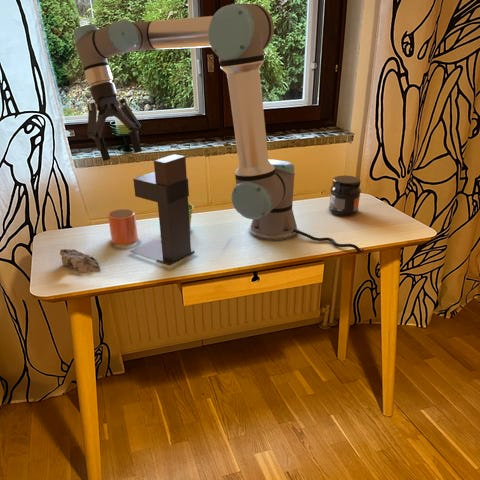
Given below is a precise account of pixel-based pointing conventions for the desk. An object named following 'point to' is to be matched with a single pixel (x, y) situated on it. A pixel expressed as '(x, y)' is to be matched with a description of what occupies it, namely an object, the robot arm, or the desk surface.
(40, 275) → the desk surface
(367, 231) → the desk surface
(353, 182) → the supplement container
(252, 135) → the robot arm
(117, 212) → the cup
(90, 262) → the mineral rock
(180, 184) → the coffee maker
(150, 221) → the desk surface
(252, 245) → the desk surface
